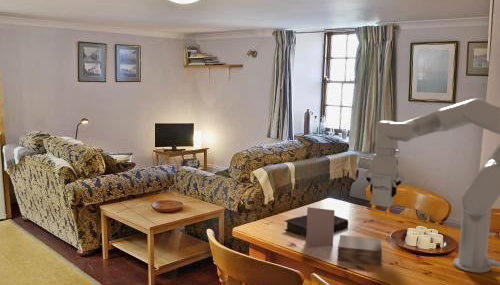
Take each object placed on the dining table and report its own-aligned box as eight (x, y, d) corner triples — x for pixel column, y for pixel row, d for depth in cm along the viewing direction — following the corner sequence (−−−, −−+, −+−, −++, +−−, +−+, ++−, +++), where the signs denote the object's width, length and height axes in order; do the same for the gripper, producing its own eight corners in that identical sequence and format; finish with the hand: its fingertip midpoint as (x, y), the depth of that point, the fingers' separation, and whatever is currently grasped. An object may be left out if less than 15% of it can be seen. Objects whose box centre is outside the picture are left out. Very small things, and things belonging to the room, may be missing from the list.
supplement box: (370, 204, 191) (372, 174, 190) (375, 200, 198) (377, 171, 196) (389, 207, 188) (391, 176, 186) (393, 203, 194) (395, 173, 192)
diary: (348, 229, 221) (349, 219, 220) (314, 242, 204) (315, 230, 203) (316, 219, 234) (317, 209, 234) (282, 230, 217) (282, 220, 217)
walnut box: (380, 253, 192) (381, 238, 191) (381, 266, 178) (382, 251, 177) (338, 248, 196) (339, 234, 195) (336, 261, 182) (337, 246, 181)
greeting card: (333, 244, 200) (334, 209, 197) (330, 250, 193) (331, 214, 191) (306, 240, 203) (307, 206, 201) (302, 246, 197) (303, 211, 194)
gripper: (409, 152, 189) (406, 195, 192) (365, 148, 197) (363, 190, 199) (406, 155, 183) (403, 200, 185) (361, 151, 190) (359, 194, 193)
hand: (382, 194), depth 192 cm, fingers closed on supplement box, 7 cm apart
